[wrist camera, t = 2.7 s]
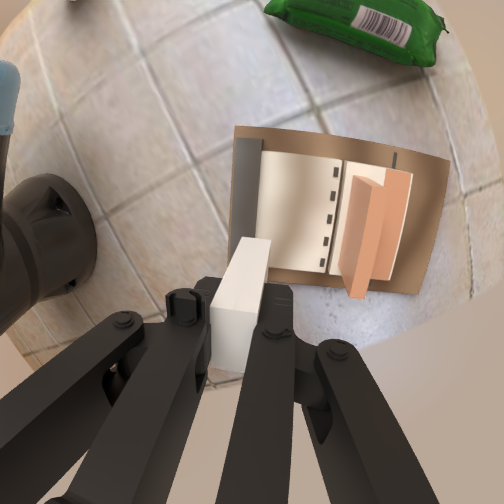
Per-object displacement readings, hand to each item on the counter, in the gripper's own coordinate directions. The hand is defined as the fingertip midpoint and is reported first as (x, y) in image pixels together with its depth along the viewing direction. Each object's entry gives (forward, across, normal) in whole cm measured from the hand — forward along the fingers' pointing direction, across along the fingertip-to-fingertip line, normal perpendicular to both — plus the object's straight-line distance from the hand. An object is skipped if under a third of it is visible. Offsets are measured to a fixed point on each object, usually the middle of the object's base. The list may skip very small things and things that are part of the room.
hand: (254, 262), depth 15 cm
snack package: (+13, +6, +19) cm, 24 cm away
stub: (+11, +9, 0) cm, 14 cm away
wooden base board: (+12, +6, 0) cm, 14 cm away
